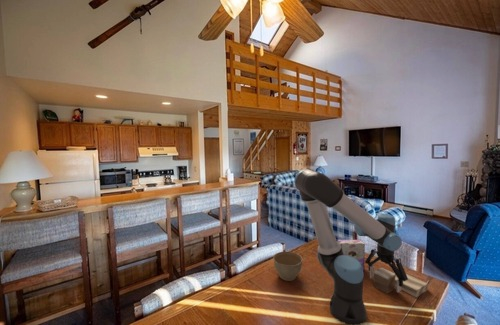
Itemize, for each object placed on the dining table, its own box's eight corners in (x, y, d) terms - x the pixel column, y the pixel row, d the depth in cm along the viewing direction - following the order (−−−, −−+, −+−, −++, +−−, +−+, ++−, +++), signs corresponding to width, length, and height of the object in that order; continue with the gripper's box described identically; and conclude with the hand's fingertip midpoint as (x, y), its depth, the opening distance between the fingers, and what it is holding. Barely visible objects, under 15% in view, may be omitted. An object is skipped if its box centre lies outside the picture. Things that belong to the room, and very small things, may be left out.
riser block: (416, 298, 109) (416, 290, 109) (392, 285, 118) (393, 278, 118) (427, 290, 114) (427, 283, 114) (403, 279, 124) (404, 272, 123)
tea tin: (387, 293, 112) (387, 278, 111) (373, 286, 118) (373, 271, 117) (395, 288, 116) (395, 273, 115) (380, 281, 122) (381, 267, 121)
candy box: (360, 265, 138) (361, 239, 137) (364, 270, 132) (365, 243, 131) (337, 264, 139) (337, 238, 138) (340, 269, 134) (340, 243, 132)
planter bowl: (308, 279, 124) (308, 261, 123) (284, 288, 117) (283, 268, 116) (291, 265, 139) (291, 248, 138) (268, 272, 132) (268, 254, 131)
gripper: (417, 252, 106) (415, 295, 108) (366, 234, 127) (366, 270, 129) (409, 257, 102) (407, 301, 104) (358, 237, 124) (358, 274, 125)
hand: (384, 284), depth 117 cm, fingers open, 13 cm apart
